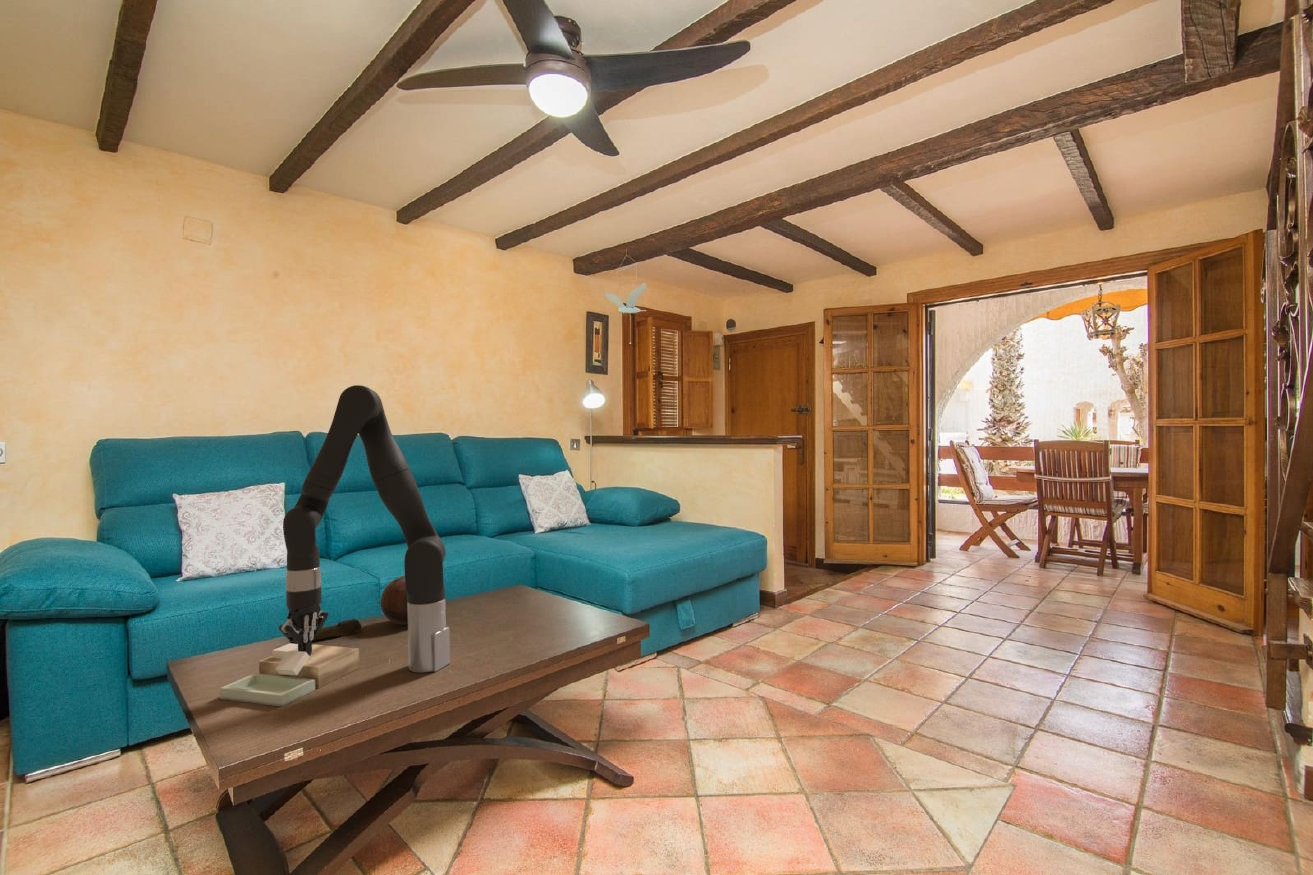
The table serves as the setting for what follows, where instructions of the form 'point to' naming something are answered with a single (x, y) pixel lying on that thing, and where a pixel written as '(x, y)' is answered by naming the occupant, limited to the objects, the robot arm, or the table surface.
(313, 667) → the light wood flat block
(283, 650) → the tile far
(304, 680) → the tray
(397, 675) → the table surface
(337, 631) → the hand tool
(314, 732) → the table surface
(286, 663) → the tile near
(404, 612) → the wooden sphere
